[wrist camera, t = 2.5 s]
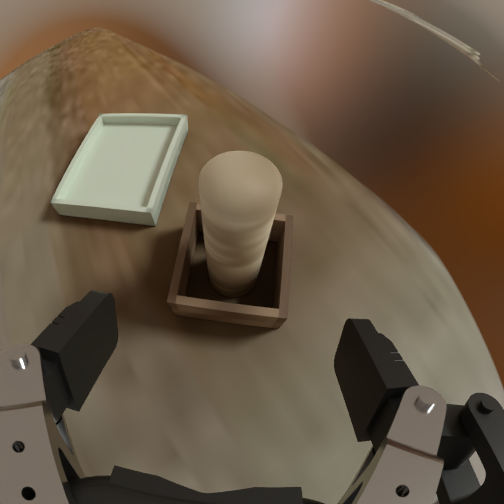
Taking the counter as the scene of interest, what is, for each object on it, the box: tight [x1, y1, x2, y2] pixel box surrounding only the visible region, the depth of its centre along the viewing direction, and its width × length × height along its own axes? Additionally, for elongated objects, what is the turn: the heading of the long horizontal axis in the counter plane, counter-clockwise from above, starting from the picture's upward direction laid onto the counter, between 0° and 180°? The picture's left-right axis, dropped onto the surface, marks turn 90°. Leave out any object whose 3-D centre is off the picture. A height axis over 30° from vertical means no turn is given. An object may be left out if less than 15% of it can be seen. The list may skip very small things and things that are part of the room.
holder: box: [167, 202, 293, 329], centre depth 23 cm, size 8×8×4 cm
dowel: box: [198, 151, 282, 297], centre depth 20 cm, size 4×4×12 cm
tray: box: [50, 113, 188, 226], centre depth 28 cm, size 11×13×2 cm
